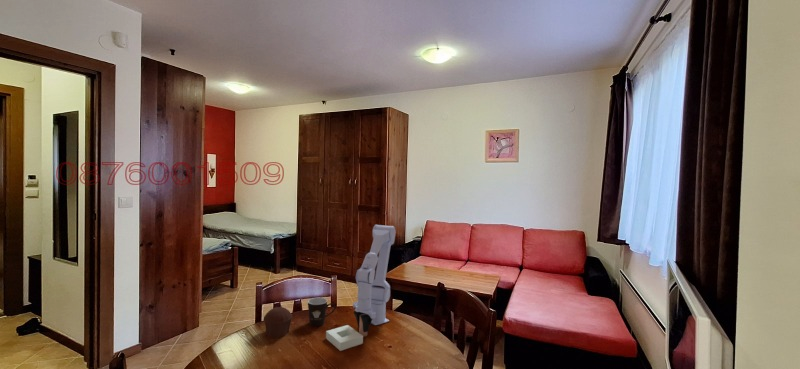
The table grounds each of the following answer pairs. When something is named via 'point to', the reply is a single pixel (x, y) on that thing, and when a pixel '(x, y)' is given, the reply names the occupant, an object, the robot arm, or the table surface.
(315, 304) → the coffee mug
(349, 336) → the socket block
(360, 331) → the dowel
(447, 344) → the table surface
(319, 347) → the table surface
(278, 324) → the muffin
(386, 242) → the robot arm
